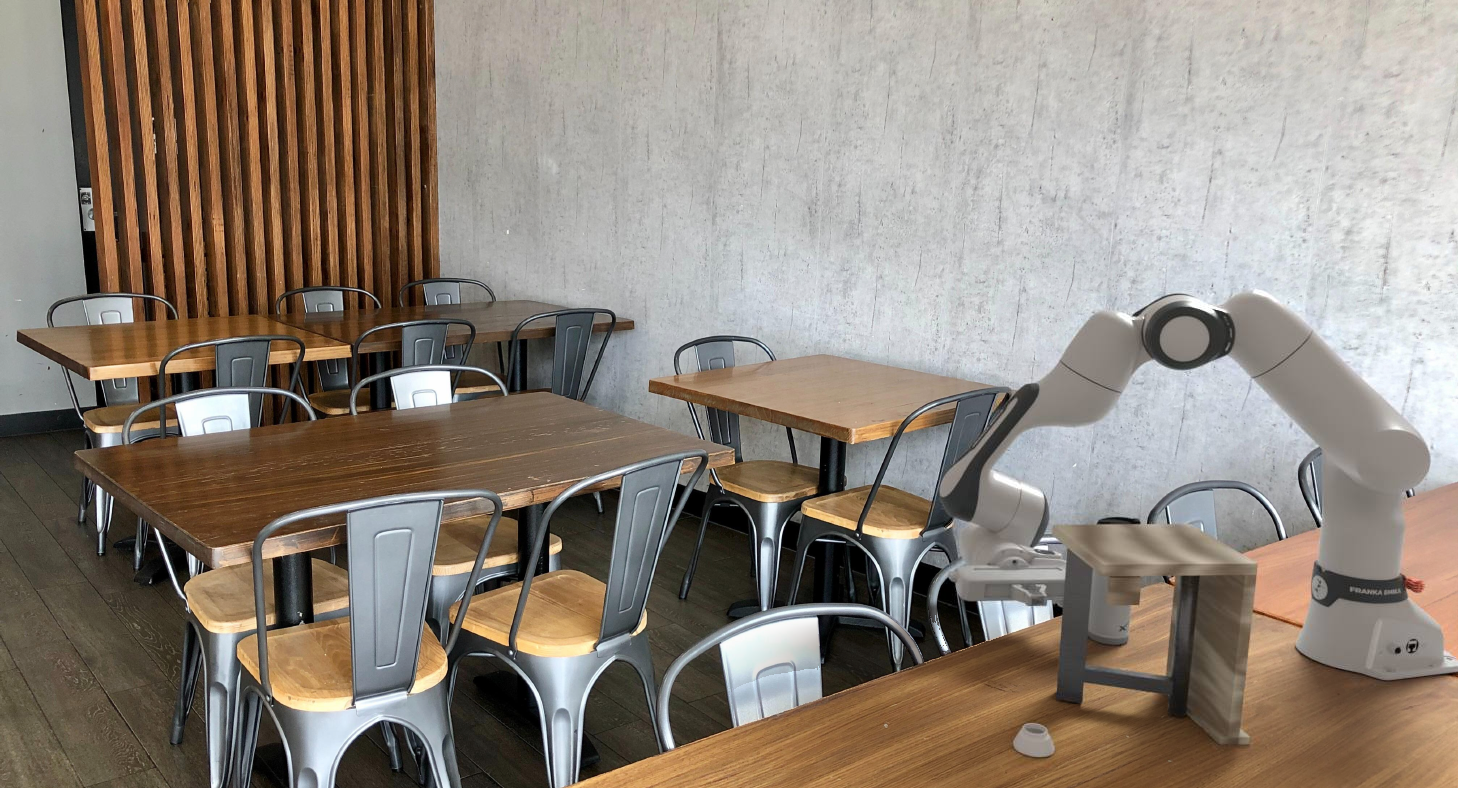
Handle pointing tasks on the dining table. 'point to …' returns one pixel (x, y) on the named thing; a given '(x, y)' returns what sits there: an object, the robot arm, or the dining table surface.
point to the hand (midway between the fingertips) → (1037, 601)
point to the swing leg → (1078, 672)
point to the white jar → (1034, 741)
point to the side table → (1218, 606)
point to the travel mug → (1108, 619)
